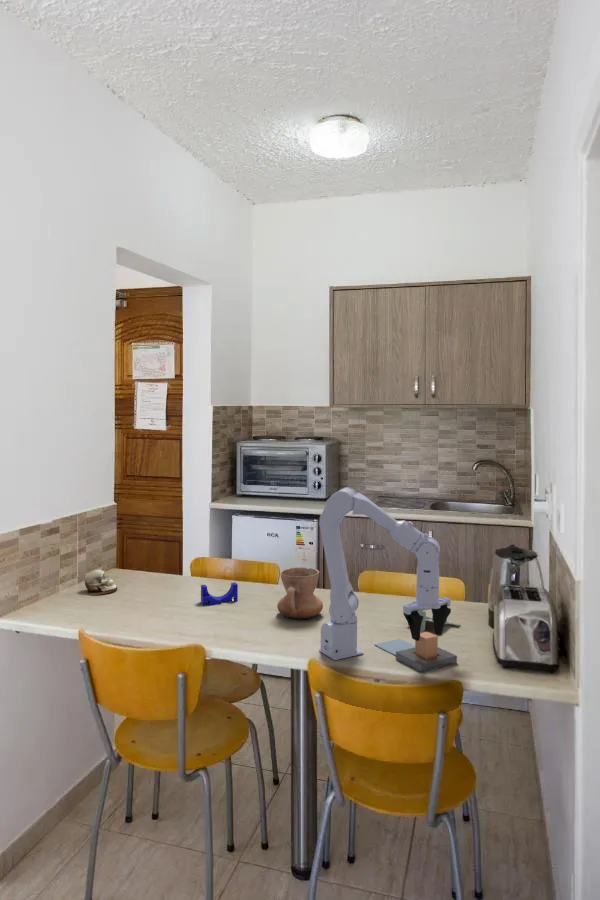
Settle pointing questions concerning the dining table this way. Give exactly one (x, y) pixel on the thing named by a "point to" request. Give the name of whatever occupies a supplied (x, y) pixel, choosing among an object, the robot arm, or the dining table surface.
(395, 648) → the rubber mat
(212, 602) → the blue curved cradle
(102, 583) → the skull
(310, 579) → the ceramic jug
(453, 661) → the socket plate
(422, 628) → the metal bracket
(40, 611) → the dining table surface
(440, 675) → the dining table surface
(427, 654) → the square peg
